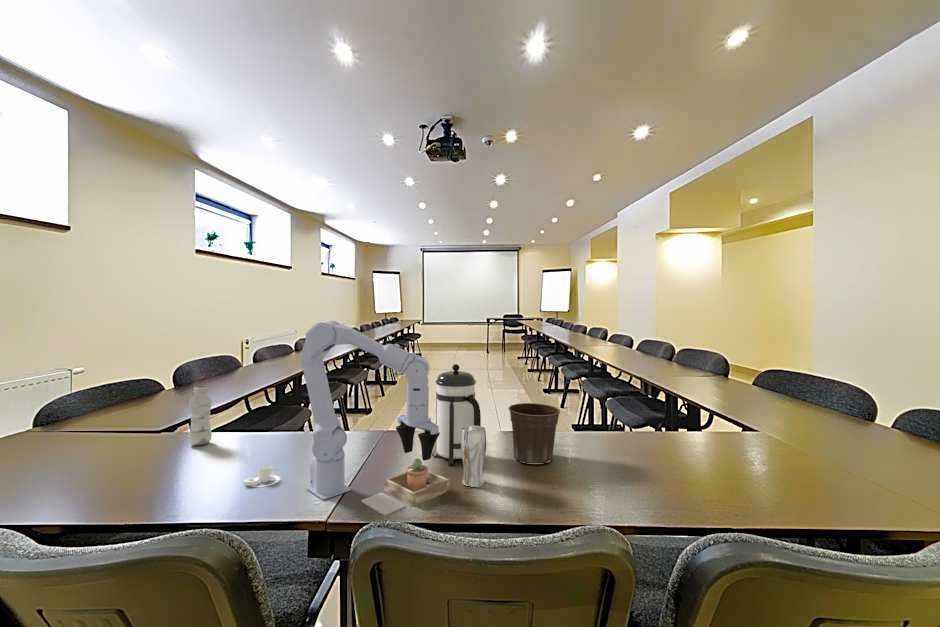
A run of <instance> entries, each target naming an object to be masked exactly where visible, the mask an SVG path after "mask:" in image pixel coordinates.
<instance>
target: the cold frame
mask: <svg viewBox="0 0 940 627" xmlns="http://www.w3.org/2000/svg"><path fill="white" fill-rule="evenodd" d="M383 484H384V485H383V486H384V492H386V493H387V494H389V495H391V496H393V497H395V498H396V499H398V500H401V501H402V502H404V503H406V504H408V505H410V506H411V507H415V506H417V505H420V504H422V503H425V502H427V501H429V500H432V499H434V498H437V497H439V496H441V495H443V493H444V494H446V493H448V492H450V479H448V478H446V477H445V476H442V475H439V474H437V473H434V472H432V471H430V470H428V472H427V484H429V485H427V487H425V488H423V489H420V490H418V491H415V492H413V491H411V490H409V489H407V488H406V487H404V486H406V485H407V472H406V471H405V472H403V473H402V472H401V473H399V474H397V475H396V474H395V475H393V476H392V477H388V478H385V479H384V483H383ZM447 491H448V492H447ZM445 492H446V493H445ZM438 495H439V496H438ZM436 496H437V497H436Z"/></svg>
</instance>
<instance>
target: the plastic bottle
mask: <svg viewBox="0 0 940 627" xmlns="http://www.w3.org/2000/svg"><path fill="white" fill-rule="evenodd" d="M207 392H208V386H207V385H198V386H194V387H193V393H194V395H193V396H192V397H191V398H190V400H189V404H188V406H189V412H190V430H189V434H188V443H189V444H190V445H191V446H202V445H206V444H209V443H210V442H211V440H212V436H213V434H212V429H211V421H210V420H211V407H212V403H213V400H212V398H211V396H210V395H209V394H208V393H207Z"/></svg>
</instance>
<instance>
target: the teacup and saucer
mask: <svg viewBox="0 0 940 627" xmlns="http://www.w3.org/2000/svg"><path fill="white" fill-rule="evenodd" d="M273 469H274V471H273V473H272V470H273ZM276 470H277V469H276V468H275V467H274V466H271V465H263V466H259V467H258V476H256V477H248V478H246V479H244V481H243V484H244V485H245V486H247V487H252V488H265V487H269V486H273V485H275V484H277V483H279V482H280V481H281V479H282V478H281V477H280V476H279V475H276ZM273 477H274V478H273ZM270 479H275V480H274V481H273V482H271V483H269V484H265V483H267V482H269V481H270ZM259 483H264V484H263V485H258V484H259Z"/></svg>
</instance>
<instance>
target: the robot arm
mask: <svg viewBox="0 0 940 627" xmlns="http://www.w3.org/2000/svg"><path fill="white" fill-rule="evenodd" d="M338 345H351V346H353V347H356V348H358V349H360V350H362V351H364V352H367V353H370V354H371V355H374V356H375V357H377V358H378V360H379V363H380V364H381V365H383V366H385V367H388V368H390V369H391V370H394V371H396V372H397V373H400V374H405V377H406V378H407V379H406V380H407V384H406V385H407V386H406V414H401V415H398V416H397V424H399V425H397V426H395V430H396V432H397V433H398V435H399V438H400V440H401V444H402V448H403V452H404V454H407V453H411V452H413V447H414V437H415V436H414V435H415V434H416V433H415V432H416V429H419V430H421V431H423V432H420V433H417V436H418V439H419V442H420V447H421V458H422V461H428V460H430V459H432V458H431V457H432V453H433V451H434V448H435V447H434V446H435V445H436V440H437V438H438V436H439V435H440V432H439V426H438V425H436V423H434V422H433V421H432V418H430V417H429V403H430V402H429V393H430V391H429V390H430V389H429V388H430V387H429V376H428V375H429V372H430V363H429V361H428V360H427V359H426V358H424V357H423V356H421V355H417V353H415V352H412V353H411V352H409V351H407V350H405V349H403V348H401V347H400V346H401V345H400V344H398V343H394V344H392V343H388V344H382V343H380V342H378V341H376V340H374V339H373V338H371V337H369V336H367V335H365V334H364V333H363V332H360V331H359V330H356V329H354V328H352V327H350V326H348V325H345V324H340V323H339V322H337V321H333V320H330V321H327V322H323V321H322V322H321V321H320V322H317V323H315V324H314V325H313V326H311V327H310V328H309V329H308V331H306V333H305V340H304V344H303V347H302V350H301V353H300V361H301V365H302V371H303V375H304V380H305V385H306V389H307V394H308V398H309V403H310V407H311V412H312V416H313V420H314V427H313V433H312V437H313V442H312V447H311V449H312V450H311V451H312V455H313V457H312V458H311V460H310V463H309V485H308V486H306V490H308V491H309V492H311V493H312V494H314V496H316V497H318V498H320V500H322V501H323V500H327V499H331V498H334V497H336V496H338V495H339V496H340V495H341V494H344V493H347V492H350V491H352V488H351V487H350V486H348V485H346V484H345V472H346V471H345V464H346V463H345V461H346V459H345V457H346V456H345V451H344V449H343V448H344V447H345V446H346V444H347V441H348V435H347V433H346V431H345V430H344V429H343V427H342V425H341V421H340V420H339V419H338V417H336V413H335V412H336V411H335V407H334V404H333V403H334V402H333V398H332V394H331V389H330V385H329V380H328V376H327V371H326V368H325V366H326V365H325V364H324V363H325V362H324V359H325V357H326V356H327V355H328V354H329V352H330V351H331V349H333V348H334V347H335V346H338Z"/></svg>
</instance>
